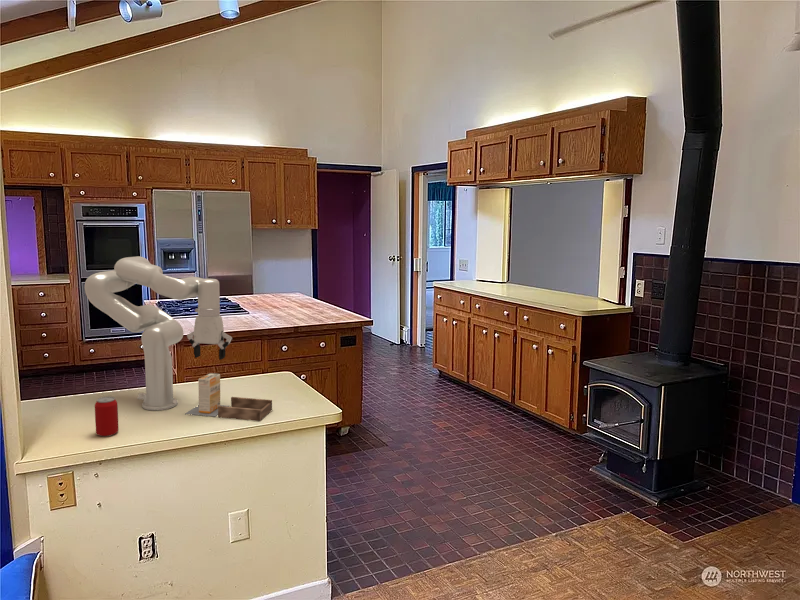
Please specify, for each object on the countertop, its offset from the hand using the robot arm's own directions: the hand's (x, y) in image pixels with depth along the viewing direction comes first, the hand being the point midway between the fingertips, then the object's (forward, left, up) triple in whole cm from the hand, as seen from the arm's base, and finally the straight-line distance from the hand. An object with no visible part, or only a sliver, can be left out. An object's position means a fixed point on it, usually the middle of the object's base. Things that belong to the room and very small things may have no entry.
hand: (209, 357), depth 217 cm
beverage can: (-22, -29, -21) cm, 42 cm away
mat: (-1, 0, -20) cm, 20 cm away
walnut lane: (+14, 0, -20) cm, 25 cm away
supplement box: (0, 0, -20) cm, 20 cm away
